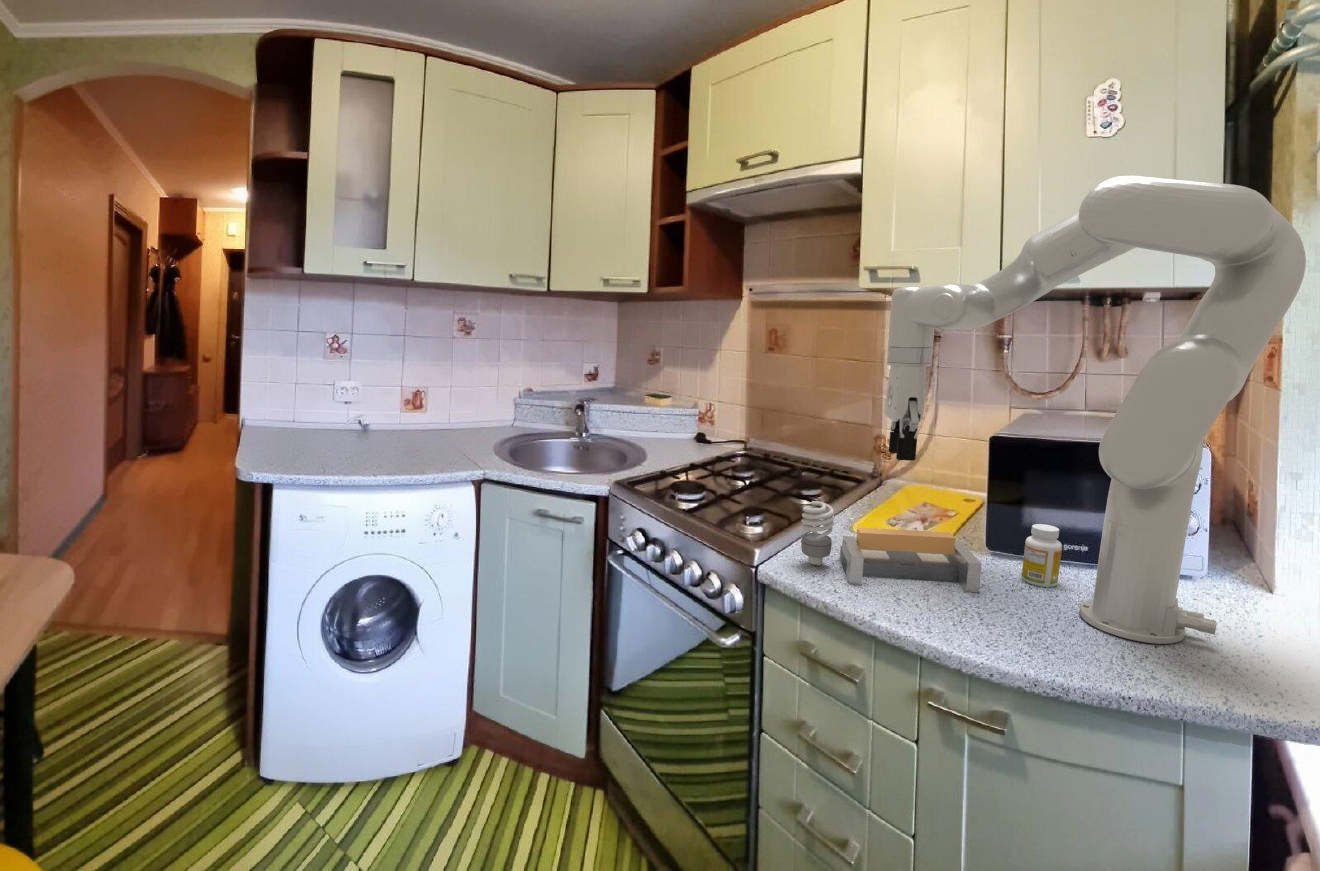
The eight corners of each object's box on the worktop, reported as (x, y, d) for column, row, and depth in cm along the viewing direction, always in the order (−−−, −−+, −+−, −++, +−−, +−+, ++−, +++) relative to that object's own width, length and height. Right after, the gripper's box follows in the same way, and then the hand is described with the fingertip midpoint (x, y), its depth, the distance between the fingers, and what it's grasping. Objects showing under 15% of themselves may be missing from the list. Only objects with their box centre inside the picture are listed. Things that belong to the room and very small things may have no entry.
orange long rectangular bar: (948, 548, 114) (950, 532, 114) (953, 554, 111) (955, 537, 111) (856, 543, 117) (857, 527, 116) (858, 548, 114) (859, 532, 113)
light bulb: (795, 560, 119) (798, 497, 117) (824, 559, 119) (828, 497, 117) (805, 572, 113) (808, 506, 111) (835, 571, 114) (839, 505, 112)
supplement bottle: (1047, 576, 113) (1054, 523, 111) (1063, 588, 107) (1070, 533, 106) (1015, 574, 113) (1021, 521, 112) (1029, 587, 108) (1036, 531, 106)
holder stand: (955, 565, 117) (958, 539, 116) (978, 592, 105) (981, 563, 105) (839, 558, 120) (841, 532, 119) (849, 583, 108) (851, 555, 107)
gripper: (878, 354, 124) (871, 446, 127) (898, 359, 107) (890, 465, 110) (918, 355, 123) (911, 448, 126) (945, 360, 106) (936, 467, 109)
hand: (901, 455), depth 118 cm, fingers open, 5 cm apart
